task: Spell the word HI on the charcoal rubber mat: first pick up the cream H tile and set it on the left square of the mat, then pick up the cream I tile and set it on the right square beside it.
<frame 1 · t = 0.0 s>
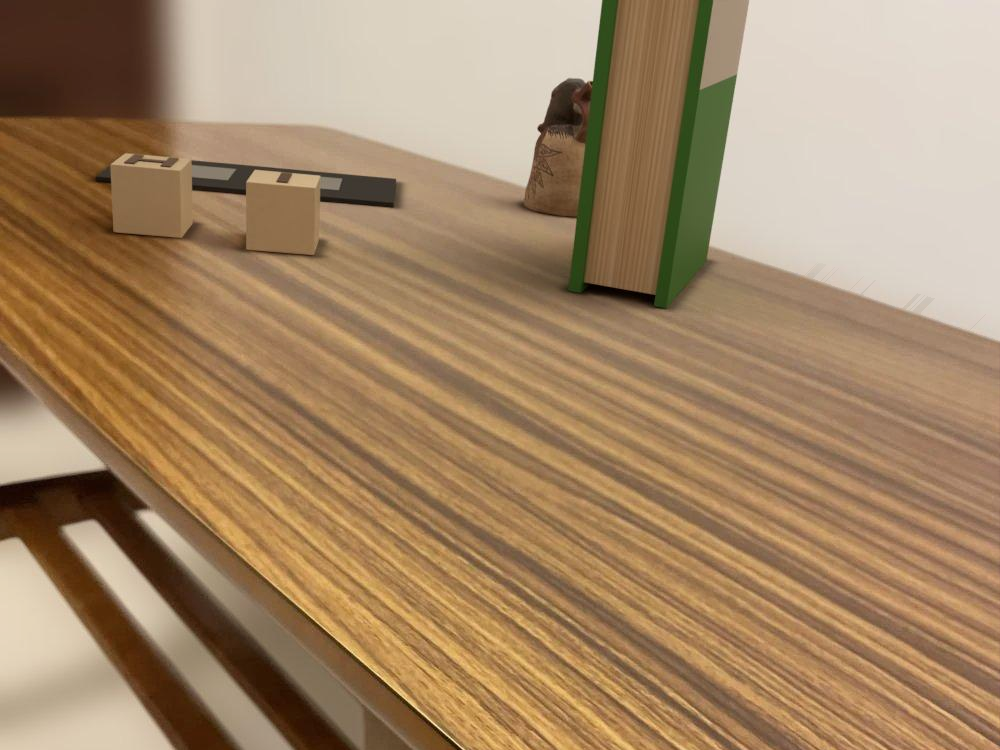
hardback book: (641, 277, 98), on the table
tile h: (154, 228, 95), on the table
tile i: (283, 245, 94), on the table
word mat: (254, 181, 115), on the table
figurine: (561, 211, 119), on the table
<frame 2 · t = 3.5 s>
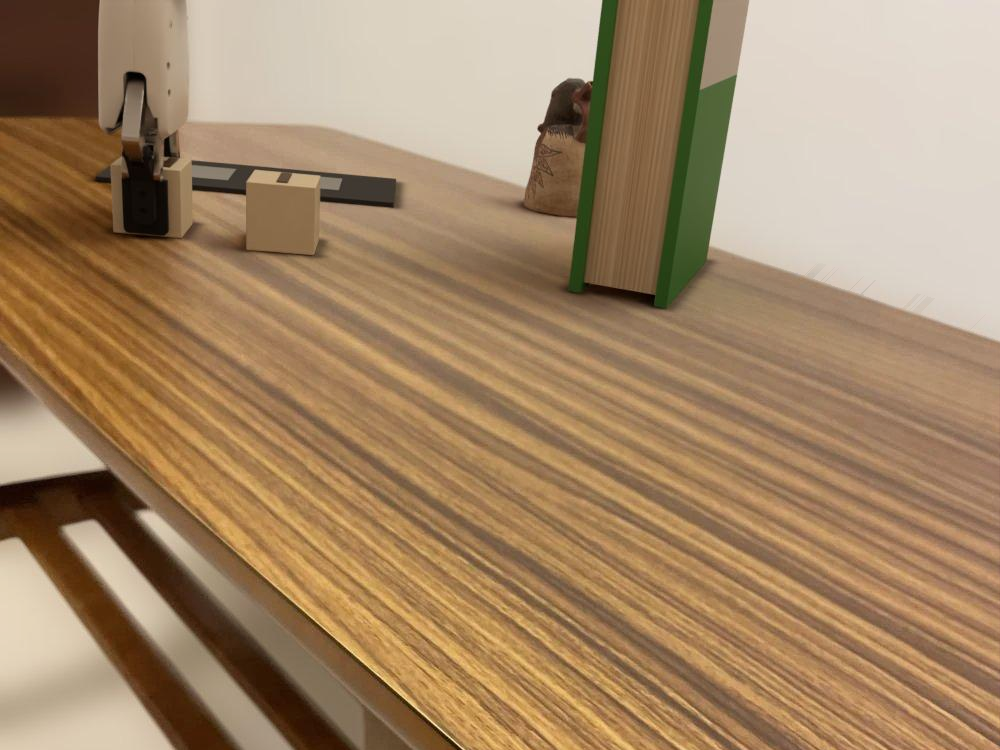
hand: (154, 222, 95), 0 cm above the table, tool pointing down, fingers closed on tile h, 5 cm apart
tile h: (154, 228, 95), on the table, touching gripper
everything else where it was.
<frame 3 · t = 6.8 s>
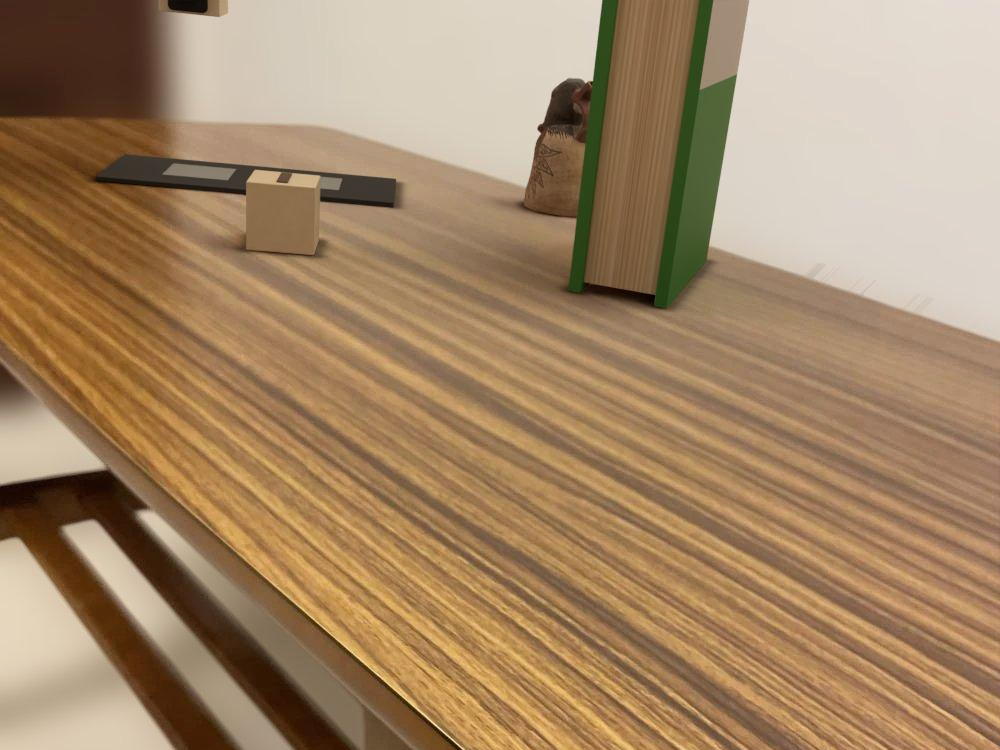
hand: (193, 6, 106), 15 cm above the table, tool pointing down, fingers closed on tile h, 5 cm apart
tile h: (194, 12, 106), point 14 cm above the table, touching gripper
everything else where it was.
when the fingers open (1 cm above the table, at t = 10.3 s): tile h stays where it is, resting on word mat.
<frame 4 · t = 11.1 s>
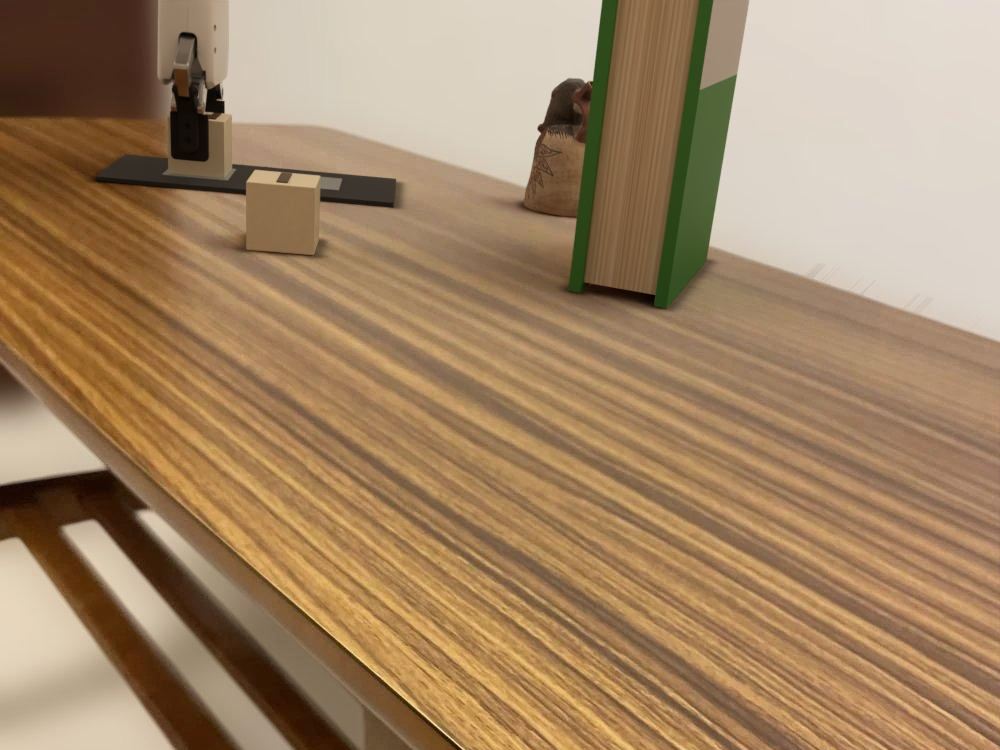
hand: (199, 151, 113), 2 cm above the table, tool pointing down, fingers open, 9 cm apart
tile h: (201, 171, 114), resting on word mat
everything else where it was.
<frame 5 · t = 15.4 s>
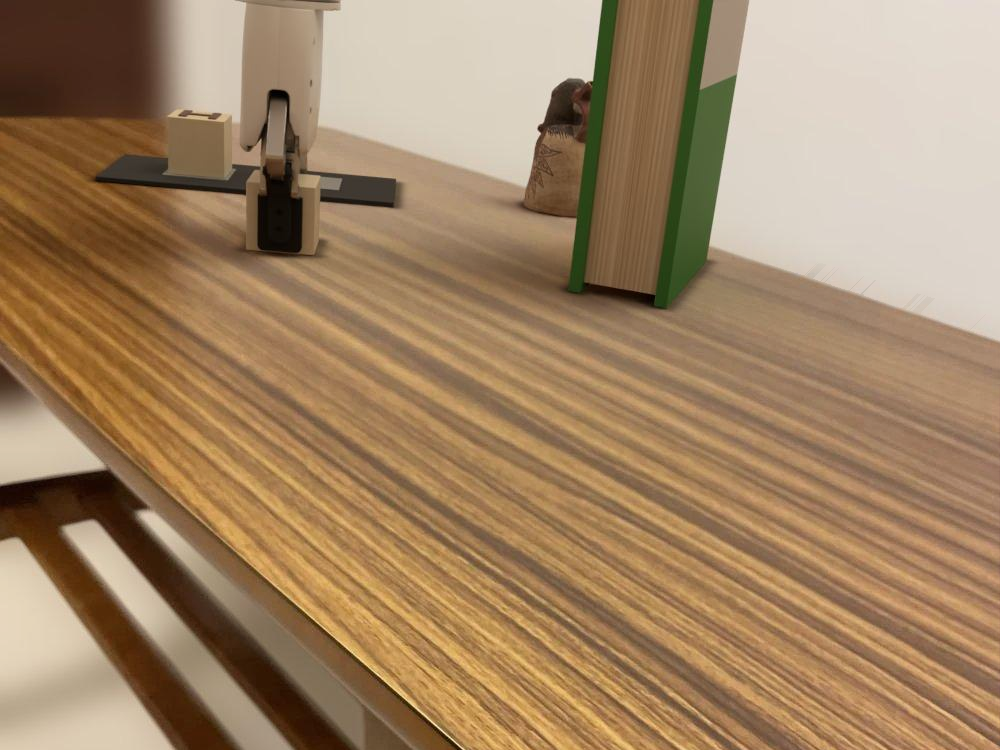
hand: (283, 239, 94), 0 cm above the table, tool pointing down, fingers closed on tile i, 5 cm apart
tile i: (283, 245, 94), on the table, touching gripper
everything else where it was.
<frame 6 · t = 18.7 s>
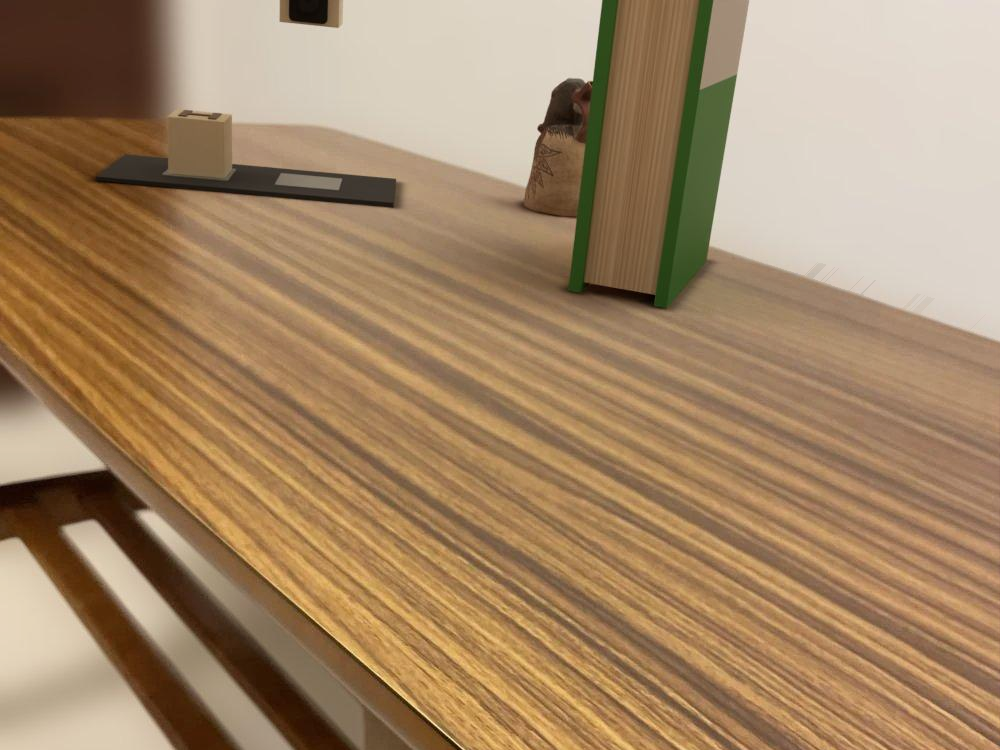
hand: (311, 17, 107), 15 cm above the table, tool pointing down, fingers closed on tile i, 5 cm apart
tile i: (311, 23, 107), point 14 cm above the table, touching gripper
everything else where it was.
when the fingers open (1 cm above the table, at t = 22.3 s): tile i stays where it is, resting on word mat.
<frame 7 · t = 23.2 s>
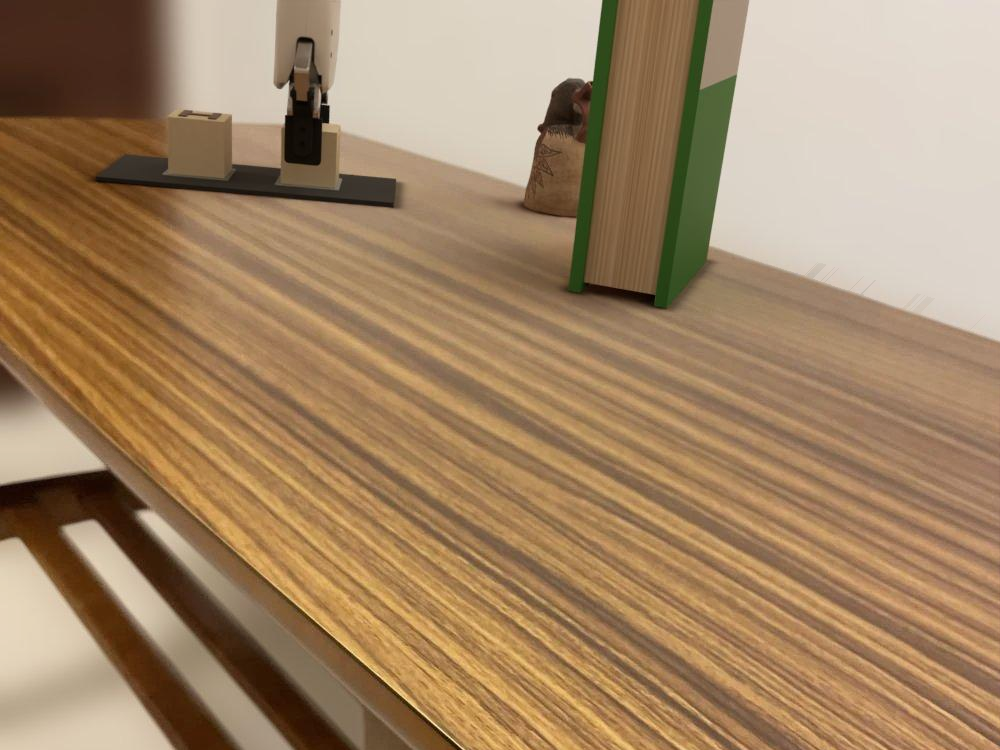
hand: (307, 155, 114), 3 cm above the table, tool pointing down, fingers open, 9 cm apart
tile i: (310, 181, 116), resting on word mat
everything else where it was.
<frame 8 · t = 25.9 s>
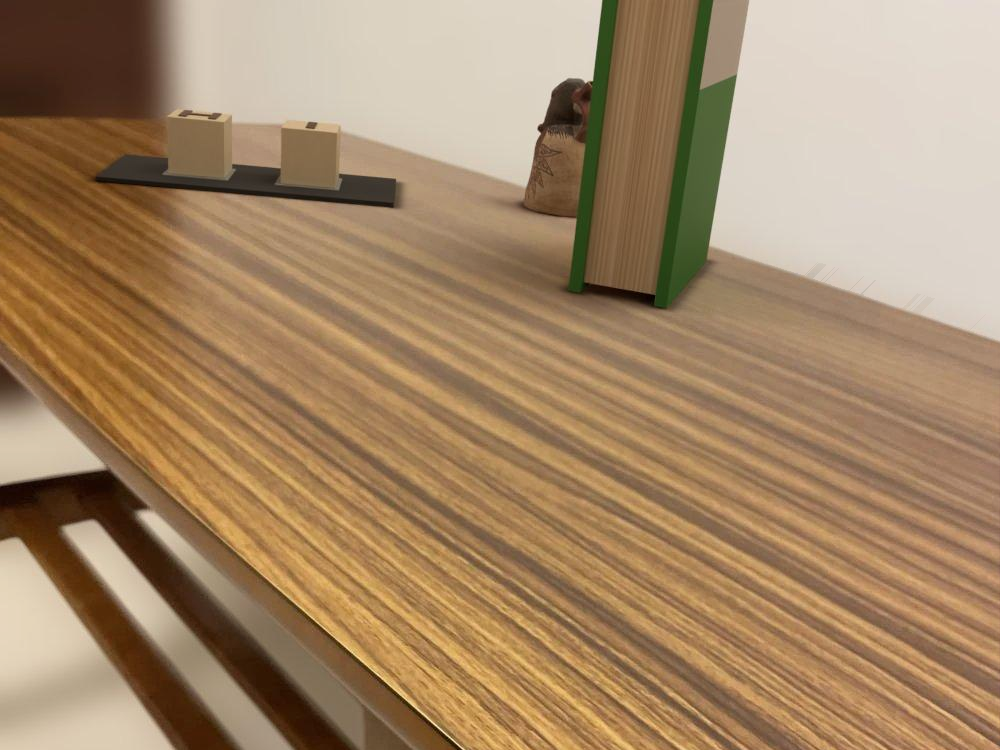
nothing on the table moved.
at the end: tile h 0.1 cm from the target spot on the word mat, point 0.5 cm above the word mat's base; tile i 0.1 cm from the target spot on the word mat, point 0.5 cm above the word mat's base; tile i tilted 0° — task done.
